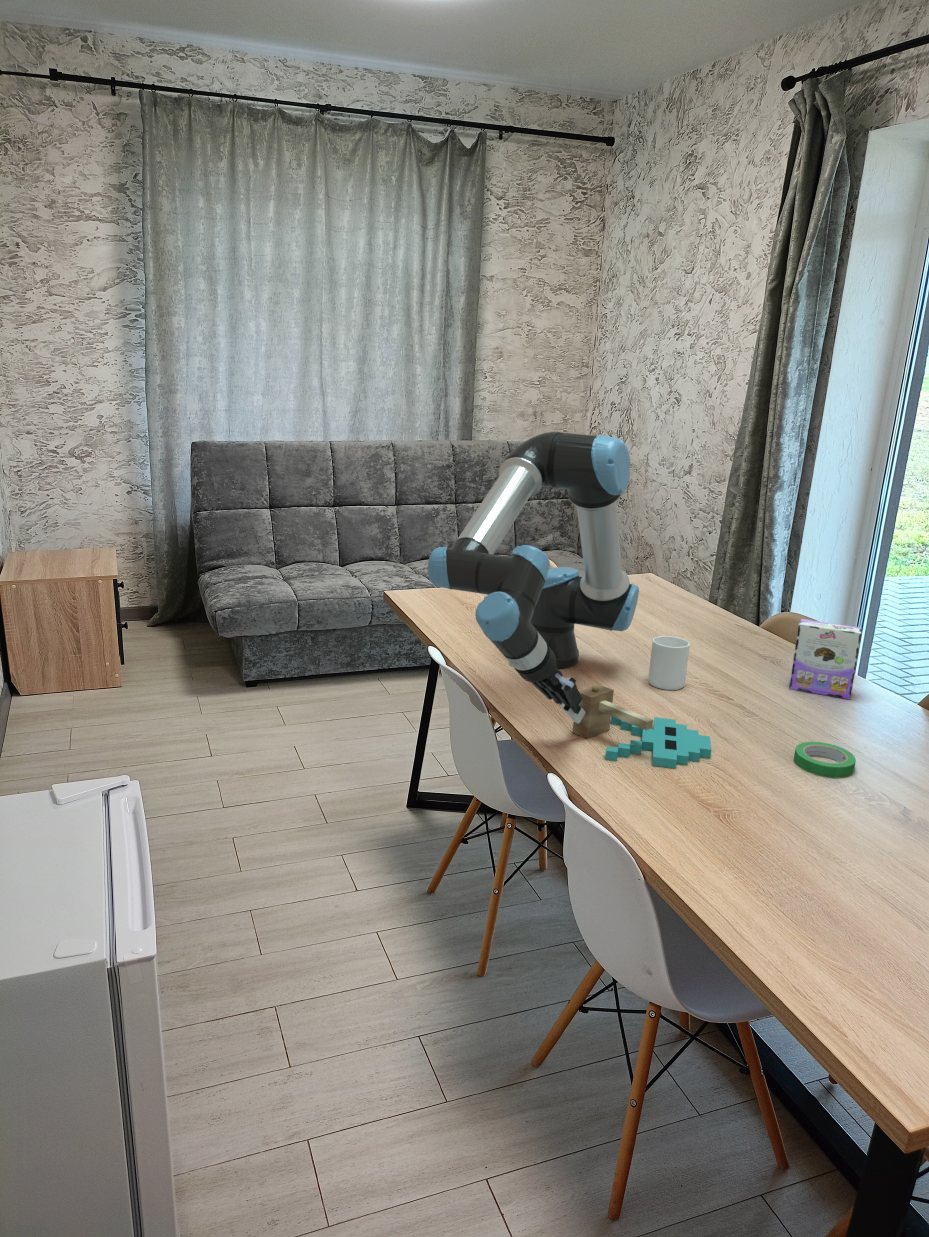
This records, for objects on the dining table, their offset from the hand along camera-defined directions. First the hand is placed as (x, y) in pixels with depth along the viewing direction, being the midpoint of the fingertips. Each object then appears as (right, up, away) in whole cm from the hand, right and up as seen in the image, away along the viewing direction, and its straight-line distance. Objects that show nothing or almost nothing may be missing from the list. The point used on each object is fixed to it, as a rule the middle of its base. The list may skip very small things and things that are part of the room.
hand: (579, 717), depth 182 cm
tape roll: (+47, -9, -5) cm, 48 cm away
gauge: (+7, -5, +1) cm, 9 cm away
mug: (+25, +5, +35) cm, 43 cm away
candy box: (+61, +2, +34) cm, 70 cm away
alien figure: (+16, -6, 0) cm, 17 cm away
